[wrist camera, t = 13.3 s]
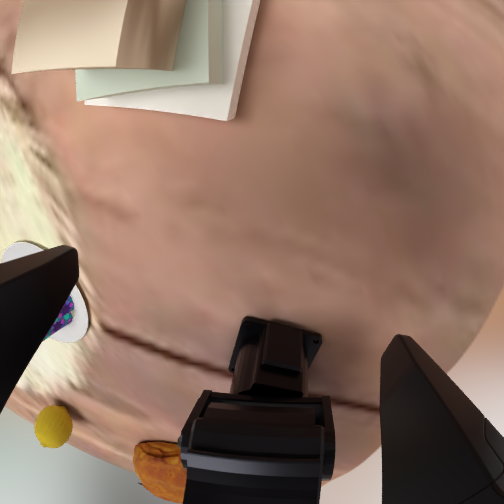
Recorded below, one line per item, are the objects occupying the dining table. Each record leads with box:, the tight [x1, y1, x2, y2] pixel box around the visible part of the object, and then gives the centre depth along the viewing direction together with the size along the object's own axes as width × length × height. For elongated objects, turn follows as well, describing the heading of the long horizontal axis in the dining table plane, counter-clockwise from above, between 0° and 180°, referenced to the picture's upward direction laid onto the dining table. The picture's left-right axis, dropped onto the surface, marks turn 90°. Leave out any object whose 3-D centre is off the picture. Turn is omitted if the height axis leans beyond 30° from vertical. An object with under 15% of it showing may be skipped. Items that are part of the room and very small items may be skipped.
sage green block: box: [75, 0, 223, 101], centre depth 12 cm, size 7×7×3 cm
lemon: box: [35, 405, 73, 448], centre depth 35 cm, size 6×6×8 cm
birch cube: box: [12, 0, 187, 74], centre depth 9 cm, size 5×5×5 cm
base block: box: [85, 0, 260, 121], centre depth 15 cm, size 9×9×3 cm
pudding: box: [1, 242, 88, 343], centre depth 25 cm, size 12×12×5 cm
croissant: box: [133, 442, 187, 503], centre depth 37 cm, size 14×16×8 cm
